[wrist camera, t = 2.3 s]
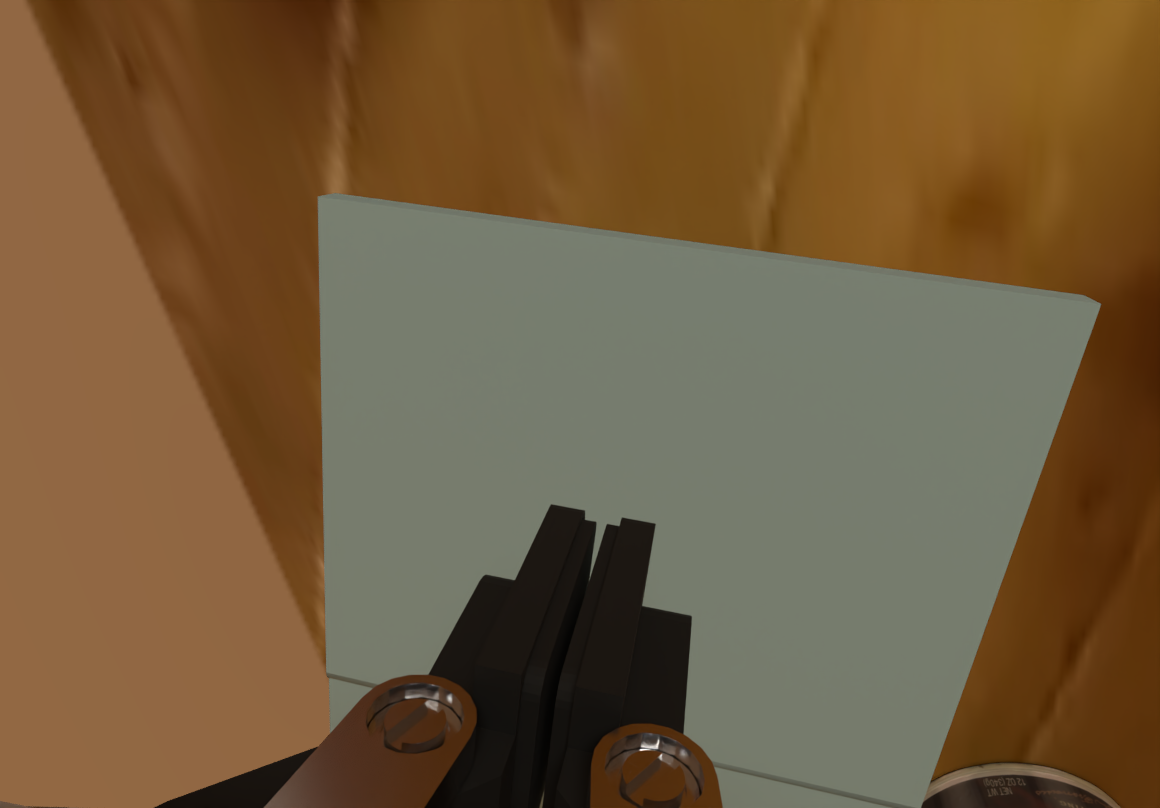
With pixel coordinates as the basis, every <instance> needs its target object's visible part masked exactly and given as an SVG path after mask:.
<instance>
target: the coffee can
mask: <svg viewBox="0 0 1160 808" xmlns="http://www.w3.org/2000/svg"><path fill="white" fill-rule="evenodd" d="M921 808H1121V807H1120V806H1119V805H1118V804H1117V803H1116V802H1115V801H1114V800H1113V799H1112V798H1111V797H1109V796H1108V795H1107V794H1106V793H1104V792H1103V791H1102V790H1101V789H1099V788H1098V787H1096V786H1095V785H1093V784H1091V783H1090V782H1087V781H1085V780H1083V779H1080V778H1078V777H1076V776H1074V775H1072V774H1069V773H1066V772H1064V771H1061V770H1058V769H1054V768H1050V767H1046V766H1040V765H1035V764H1027V763H990V764H982V765H978V766H973V767H968V768H963V769H959V770H956V771H953V772H950V773H948V774H946V775H944V776H941V777H939V778H938V779H936V780H934V781H932V782H930V784H929V787H928V790H927V792H926V795H925V798H924V801H923V804H922V806H921Z"/></svg>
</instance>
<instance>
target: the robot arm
mask: <svg viewBox="0 0 1160 808" xmlns="http://www.w3.org/2000/svg"><path fill="white" fill-rule="evenodd" d="M596 525H597V523H596V522H595V521H590V520H585V510H580V509H575V508H569V507H564V506H559V505H553V504H551V505H550V507H549V509H548V511H547V513H546V515H545V517H544V519H543V522H542V524H541V526H540V528H539V530H538V532H537V534H536V536H535V538H534V541H533V543H532V545H531V547H530V549H529V551H528V553H527V555H526V558H525V560H524V562H523V564H522V566H521V568H520V570H519V572H518V575H517V577H516V579H515V580H511V579H506V578H501V577H496V576H491V575H484V576H483V577H482V578H481V580H480V581H479V583H478V585H477V587H476V588H475V590H474V592H473V594H472V596H471V598H470V599H469V601H468V603H467V605H466V607H465V608H464V610H463V612H462V614H461V616H460V618H459V619H458V621H457V623H456V625H455V627H454V629H453V630H452V632H451V634H450V636H449V638H448V639H447V641H446V643H445V645H444V647H443V649H442V650H441V652H440V654H439V656H438V658H437V660H436V661H435V663H434V665H433V667H432V669H431V670H430V672H429V674H428V675H406V676H402V677H397V678H392V679H390V680H388V681H386V682H384V683H381V684H379V685H377V686H375V687H374V688H373V689H372V690H370V691H369V692H368V693H367V694H366V695H364V696H363V697H362V698H361V699H360V700H359V702H358V703H357V704H356V705H355V706H354V707H353V708H352V709H351V711H350V712H349V713H348V714H347V715H346V716H345V717H344V718H343V720H342V721H341V722H340V723H339V724H338V725H337V726H336V727H335V729H334V730H333V731H332V732H331V733H330V734H329V735H328V736H327V737H326V739H325V740H324V741H323V742H322V743H321V744H320V745H319V746H318V747H316V748H313V749H310V750H308V751H305V752H302V753H299V754H296V755H294V756H291V757H288V758H285V759H283V760H280V761H277V762H274V763H272V764H269V765H266V766H263V767H261V768H258V769H255V770H252V771H250V772H247V773H244V774H241V775H239V776H236V777H233V778H230V779H228V780H225V781H222V782H219V783H217V784H214V785H211V786H208V787H206V788H203V789H200V790H197V791H195V792H192V793H189V794H186V795H184V796H181V797H178V798H175V799H172V800H170V801H167V802H165V803H163V804H161V805H159V806H157V807H155V808H540V804H541V800H542V797H543V793H544V797H543V805H542V808H723V805H722V800H721V794H720V788H719V782H718V777H717V774H716V771H715V768H714V766H713V763H712V761H711V760H710V758H709V757H708V756H707V754H706V753H705V752H704V750H703V749H702V748H701V747H700V746H699V745H697V744H696V743H695V742H694V741H692V740H691V739H690V738H689V737H687V736H686V735H684V721H685V707H686V694H687V680H688V667H689V653H690V639H691V626H692V616H690V615H685V614H680V613H675V612H670V611H665V610H661V609H656V608H651V607H646V606H642V604H643V598H644V592H645V586H646V580H647V574H648V568H649V562H650V556H651V550H652V544H653V538H654V532H655V526H656V524H655V523H650V522H644V521H639V520H634V519H628V518H623V517H622V519H621V522H620V526H616V525H611V524H607V525H606V528H605V531H604V534H603V538H602V541H601V544H600V547H599V551H598V554H597V557H596V561H595V564H594V567H593V570H592V574H591V577H590V571H591V564H592V556H593V549H594V542H595V534H596ZM589 578H590V580H589ZM0 808H65V807H30V806H28V807H27V806H22V805H17V804H12V803H7V802H1V801H0ZM66 808H67V807H66Z"/></svg>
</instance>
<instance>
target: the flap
mask: <svg viewBox="0 0 1160 808" xmlns="http://www.w3.org/2000/svg"><path fill="white" fill-rule="evenodd" d="M318 233H319V289H320V344H321V400H322V456H323V512H324V567H325V623H326V674H327V677H328V678H329V696H330V697H329V698H330V733H331V732H332V731H333V730H334V729H335V727H336V726H337V725H338V724H339V723H340V722H341V721H342V720H343V718H344V717H345V716H346V715H347V714H348V713H349V712H350V711H351V709H352V708H353V707H354V706H355V705H356V704H357V703H358V702H359V700H360V699H361V698H362V697H363V696H364V695H366V694H367V693H368V692H369V691H370V690H372V689H373V688H374V687H375V686H377V685H379V684H381V683H384V682H386V681H388V680H390V679H392V678H397V677H402V676H406V675H428V674H429V672H430V670H431V669H432V667H433V665H434V663H435V661H436V660H437V658H438V656H439V654H440V652H441V650H442V649H443V647H444V645H445V643H446V641H447V639H448V638H449V636H450V634H451V632H452V630H453V629H454V627H455V625H456V623H457V621H458V619H459V618H460V616H461V614H462V612H463V610H464V608H465V607H466V605H467V603H468V601H469V599H470V598H471V596H472V594H473V592H474V590H475V588H476V587H477V585H478V583H479V581H480V580H481V578H482V577H483V576H484V575H491V576H496V577H501V578H506V579H511V580H515V579H516V577H517V575H518V572H519V570H520V568H521V566H522V564H523V562H524V560H525V558H526V555H527V553H528V551H529V549H530V547H531V545H532V543H533V541H534V538H535V536H536V534H537V532H538V530H539V528H540V526H541V524H542V522H543V519H544V517H545V515H546V513H547V511H548V509H549V507H550V505H551V504H553V505H559V506H564V507H569V508H575V509H580V510H585V520H590V521H595V522H596V523H597V525H596V534H595V542H594V549H593V556H592V564H591V571H590V577H591V574H592V570H593V567H594V564H595V561H596V557H597V554H598V551H599V547H600V544H601V541H602V538H603V534H604V531H605V528H606V525H607V524H611V525H616V526H620V522H621V519H622V517H623V518H628V519H634V520H639V521H644V522H650V523H655V524H656V526H655V532H654V538H653V544H652V550H651V556H650V562H649V568H648V574H647V580H646V586H645V592H644V598H643V604H642V606H646V607H651V608H656V609H661V610H665V611H670V612H675V613H680V614H685V615H690V616H692V626H691V639H690V653H689V667H688V680H687V694H686V707H685V721H684V735H686V736H687V737H689V738H690V739H691V740H692V741H694V742H695V743H696V744H697V745H699V746H700V747H701V748H702V749H703V750H704V752H705V753H706V754H707V756H708V757H709V758H710V760H711V761H712V763H713V766H714V768H715V771H716V774H717V777H718V782H719V788H720V794H721V800H722V805H723V808H921V806H922V804H923V801H924V798H925V795H926V792H927V790H928V787H929V784H930V781H931V778H932V776H933V773H934V770H935V767H936V764H937V762H938V759H939V756H940V753H941V750H942V748H943V745H944V742H945V739H946V737H947V734H948V731H949V728H950V725H951V723H952V720H953V717H954V714H955V711H956V709H957V706H958V703H959V700H960V697H961V695H962V692H963V689H964V686H965V683H966V681H967V678H968V675H969V672H970V669H971V667H972V664H973V661H974V658H975V656H976V653H977V650H978V647H979V644H980V642H981V639H982V636H983V633H984V630H985V628H986V625H987V622H988V619H989V616H990V614H991V611H992V608H993V605H994V602H995V600H996V597H997V594H998V591H999V588H1000V586H1001V583H1002V580H1003V577H1004V574H1005V572H1006V569H1007V566H1008V563H1009V561H1010V558H1011V555H1012V552H1013V549H1014V547H1015V544H1016V541H1017V538H1018V535H1019V533H1020V530H1021V527H1022V524H1023V521H1024V519H1025V516H1026V513H1027V510H1028V507H1029V505H1030V502H1031V499H1032V496H1033V493H1034V491H1035V488H1036V485H1037V482H1038V480H1039V477H1040V474H1041V471H1042V468H1043V466H1044V463H1045V460H1046V457H1047V454H1048V452H1049V449H1050V446H1051V443H1052V440H1053V438H1054V435H1055V432H1056V429H1057V426H1058V424H1059V421H1060V418H1061V415H1062V412H1063V410H1064V407H1065V404H1066V401H1067V398H1068V396H1069V393H1070V390H1071V387H1072V385H1073V382H1074V379H1075V376H1076V373H1077V371H1078V368H1079V365H1080V362H1081V359H1082V357H1083V354H1084V351H1085V348H1086V345H1087V343H1088V340H1089V337H1090V334H1091V331H1092V329H1093V326H1094V323H1095V320H1096V317H1097V315H1098V312H1099V309H1100V306H1101V304H1100V303H1098V302H1096V301H1094V300H1092V299H1091V298H1089V297H1087V296H1085V295H1079V294H1072V293H1064V292H1057V291H1050V290H1042V289H1035V288H1028V287H1020V286H1013V285H1006V284H998V283H991V282H984V281H976V280H969V279H962V278H954V277H947V276H940V275H932V274H925V273H917V272H910V271H903V270H895V269H888V268H881V267H873V266H866V265H859V264H851V263H844V262H837V261H829V260H822V259H815V258H807V257H800V256H793V255H785V254H778V253H771V252H763V251H756V250H749V249H741V248H734V247H727V246H719V245H712V244H704V243H697V242H690V241H682V240H675V239H668V238H660V237H653V236H646V235H638V234H631V233H624V232H616V231H609V230H602V229H594V228H587V227H580V226H572V225H565V224H558V223H550V222H543V221H536V220H528V219H521V218H513V217H506V216H499V215H491V214H484V213H477V212H469V211H462V210H455V209H447V208H440V207H433V206H425V205H418V204H411V203H403V202H396V201H389V200H381V199H374V198H367V197H359V196H352V195H345V194H337V193H334V194H329V195H323V196H318ZM589 580H590V578H589ZM543 797H544V793H543ZM543 797H542V800H541V804H540V808H542V805H543Z"/></svg>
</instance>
